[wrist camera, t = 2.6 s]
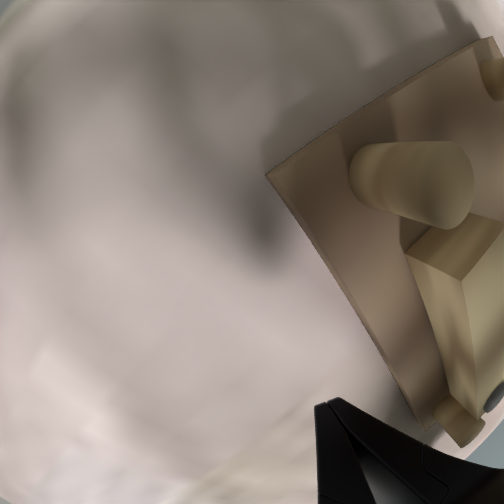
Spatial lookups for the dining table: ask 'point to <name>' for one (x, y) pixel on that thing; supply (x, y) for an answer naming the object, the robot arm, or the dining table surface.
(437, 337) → the leg
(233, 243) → the dining table surface
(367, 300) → the board
